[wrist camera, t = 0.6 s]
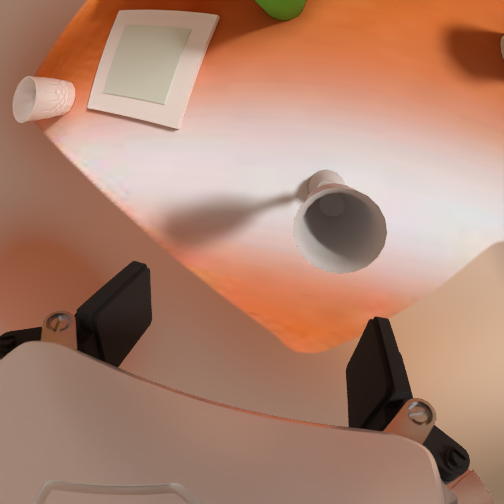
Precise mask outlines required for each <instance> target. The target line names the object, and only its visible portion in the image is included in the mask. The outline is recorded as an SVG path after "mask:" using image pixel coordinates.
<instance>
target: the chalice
mask: <svg viewBox="0 0 504 504" xmlns="http://www.w3.org/2000/svg"><path fill="white" fill-rule="evenodd" d="M308 192H309V195H308V196H307V197H306V199H305V201H304V203H303V204H302V205H301V206H300V208H299V210H298V212H297V214H296V216H295V218H294V226H293V236H294V239H295V243H296V247H297V248H298V250H299V251H300V253H301V254H302V256H303V257H304V258H305V259H306V260H307V261H309V262H310V263H311V264H312V265H313V266H315V267H317V268H319V269H322V270H324V271H326V272H332V273H339V274H342V273H350V272H355V271H357V270H360V269H362V268H364V267H367V266H368V265H369V264H370V263H371V262H373V261H374V260H375V259H376V258H377V257H378V255H379V254H380V252H381V250H382V249H383V247H384V244H385V240H386V235H387V230H386V223H385V218H384V216H383V214H382V212H381V210H380V208H379V206H378V205H377V204H375V203H374V202H373V201H372V200H371V199H370V198H369V197H368V196H366V195H364V194H362V193H360V192H358V191H356V190H354V189H353V188H350V187H348V186H346V185H345V184H344V181H343V179H342V178H341V177H340V176H339V175H338V174H337V173H335V172H333V171H330V170H322V171H319V172H317V173H315V174H314V175H313V176H312V177H311V178H310V181H309V183H308Z"/></svg>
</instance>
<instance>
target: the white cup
mask: <svg viewBox="0 0 504 504" xmlns="http://www.w3.org/2000/svg"><path fill="white" fill-rule="evenodd" d="M74 100H75V88H74V85H73V83H71V82H70V81H67V80H59V79H54V78H46V77H35V76H27V77H25V78H24V79H22V81H21V82H20V83H19V85H18V86H17V88H16V91H15V94H14V97H13V105H12V107H13V115H14V118H15V119H16V121H17V122H19V123H24V122H29V121H35V120H41V119H46V118H51V117H54V116H61V115H65V114H66V113H67V112H69V111H70V109H71V107H72V106H73V103H74Z"/></svg>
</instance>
